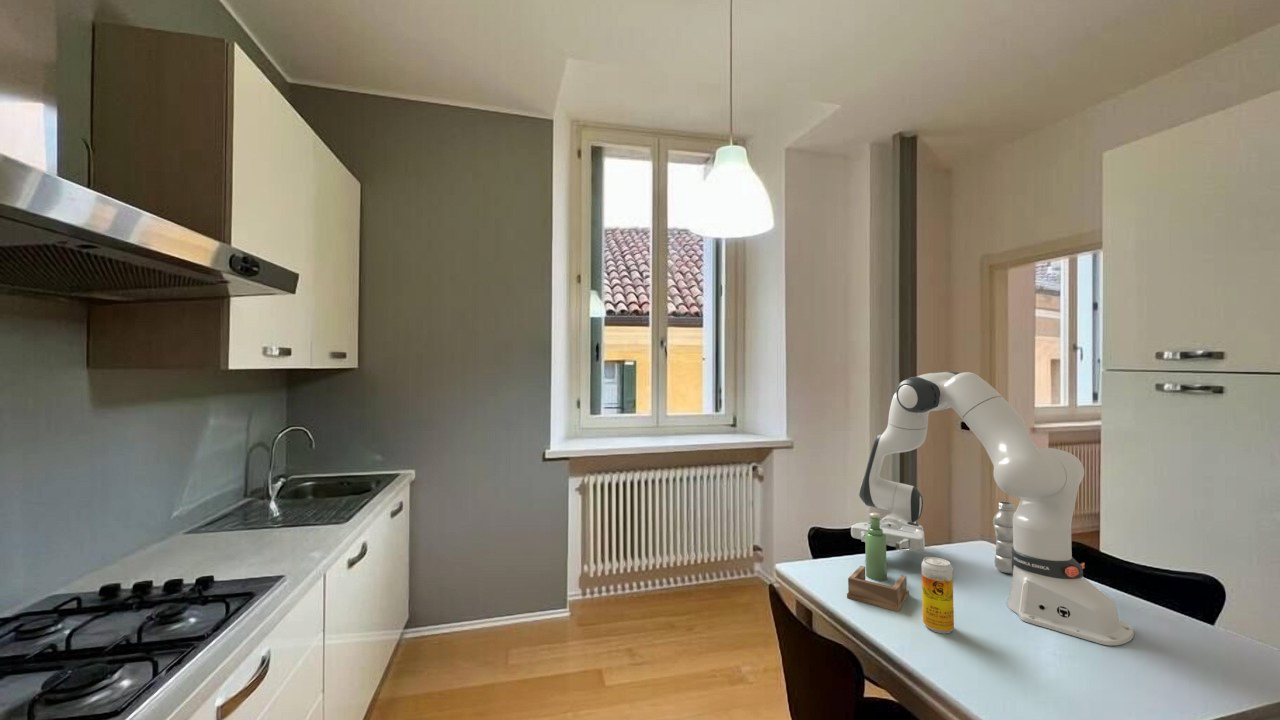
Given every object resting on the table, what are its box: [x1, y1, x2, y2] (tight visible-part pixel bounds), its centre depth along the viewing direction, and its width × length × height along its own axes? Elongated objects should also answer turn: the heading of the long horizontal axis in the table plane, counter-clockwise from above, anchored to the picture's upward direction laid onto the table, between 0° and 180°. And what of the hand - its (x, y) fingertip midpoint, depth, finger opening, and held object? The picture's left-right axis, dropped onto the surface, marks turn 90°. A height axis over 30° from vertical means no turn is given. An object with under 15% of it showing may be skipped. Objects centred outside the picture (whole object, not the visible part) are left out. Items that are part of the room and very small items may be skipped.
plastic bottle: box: [992, 501, 1016, 575], centre depth 144 cm, size 6×7×20 cm
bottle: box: [864, 512, 888, 581], centre depth 142 cm, size 5×5×18 cm
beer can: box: [921, 556, 955, 634], centre depth 114 cm, size 6×6×15 cm
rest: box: [846, 565, 910, 612], centre depth 130 cm, size 12×12×5 cm
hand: (880, 542), depth 146 cm, fingers open, 8 cm apart
